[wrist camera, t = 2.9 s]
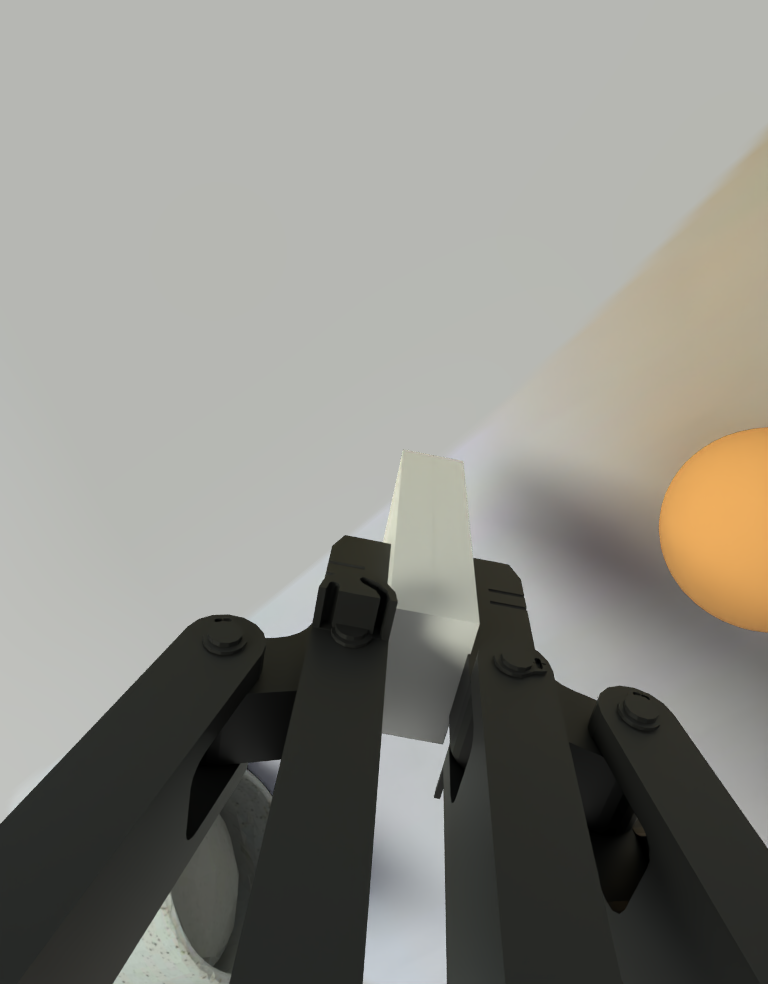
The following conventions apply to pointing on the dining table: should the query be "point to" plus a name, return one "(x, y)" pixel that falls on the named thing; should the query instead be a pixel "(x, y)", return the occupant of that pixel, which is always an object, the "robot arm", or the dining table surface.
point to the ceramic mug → (206, 900)
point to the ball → (722, 529)
